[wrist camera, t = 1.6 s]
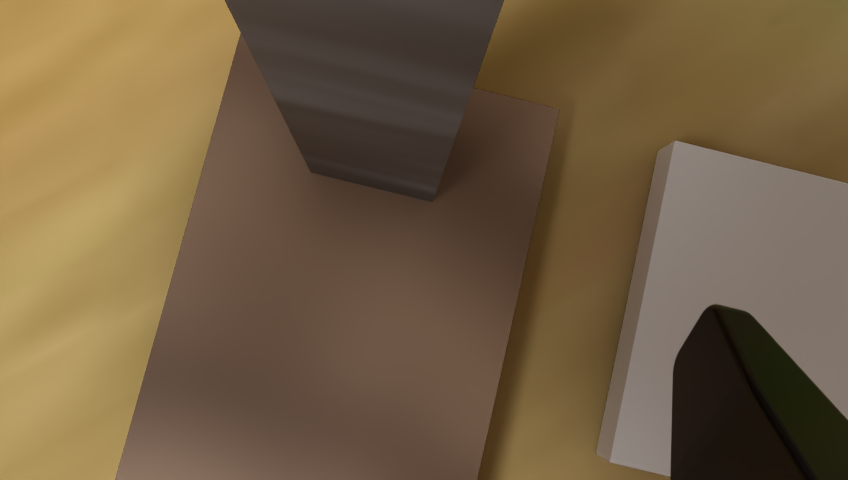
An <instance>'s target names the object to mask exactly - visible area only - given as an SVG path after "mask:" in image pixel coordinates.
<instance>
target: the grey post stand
mask: <svg viewBox="0 0 848 480" xmlns="http://www.w3.org/2000/svg"><path fill="white" fill-rule="evenodd" d="M225 2H226V4H227V6H228V8H229V10H230V12H231V14H232V16H233V18H234V20H235V22H236V24H237V26H238V28H239V30H240V32H241V34H240V37H239V41H238V45H237V48H236V52H235V55H234V59H233V62H232V66H231V69H230V73H229V77H228V80H227V84H226V87H225V91H224V94H223V98H222V101H221V105H220V109H219V112H218V116H217V119H216V123H215V126H214V130H213V133H212V137H211V141H210V144H209V148H208V151H207V155H206V158H205V162H204V165H203V169H202V172H201V176H200V180H199V183H198V187H197V190H196V194H195V197H194V201H193V204H192V208H191V212H190V215H189V219H188V222H187V226H186V229H185V233H184V236H183V240H182V244H181V247H180V251H179V254H178V258H177V261H176V265H175V268H174V272H173V276H172V279H171V283H170V286H169V290H168V293H167V297H166V300H165V304H164V307H163V311H162V315H161V318H160V322H159V325H158V329H157V332H156V336H155V339H154V343H153V347H152V350H151V354H150V357H149V361H148V364H147V368H146V371H145V375H144V379H143V382H142V386H141V389H140V393H139V396H138V400H137V403H136V407H135V410H134V414H133V418H132V421H131V425H130V428H129V432H128V435H127V439H126V442H125V446H124V450H123V453H122V457H121V460H120V464H119V467H118V471H117V474H116V478H115V480H477V478H478V473H479V469H480V464H481V460H482V455H483V451H484V446H485V442H486V438H487V433H488V429H489V424H490V420H491V415H492V411H493V406H494V402H495V397H496V393H497V388H498V384H499V379H500V375H501V370H502V366H503V361H504V357H505V352H506V348H507V343H508V339H509V334H510V330H511V325H512V321H513V317H514V312H515V308H516V303H517V299H518V294H519V290H520V285H521V281H522V276H523V272H524V267H525V263H526V258H527V254H528V249H529V245H530V240H531V236H532V231H533V227H534V222H535V218H536V213H537V209H538V204H539V200H540V195H541V191H542V187H543V182H544V178H545V173H546V169H547V164H548V160H549V155H550V151H551V146H552V142H553V137H554V133H555V128H556V124H557V119H558V115H559V110H560V109H557V108H553V107H549V106H545V105H541V104H537V103H533V102H529V101H525V100H521V99H517V98H513V97H509V96H505V95H500V94H496V93H492V92H488V91H484V90H480V89H476V88H473V87H474V84H475V81H476V78H477V75H478V72H479V70H480V67H481V64H482V61H483V58H484V55H485V53H486V50H487V47H488V44H489V41H490V39H491V36H492V33H493V30H494V27H495V24H496V22H497V19H498V16H499V13H500V10H501V7H502V5H503V2H504V0H225Z"/></svg>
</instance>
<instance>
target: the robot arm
mask: <svg viewBox="0 0 848 480" xmlns="http://www.w3.org/2000/svg"><path fill="white" fill-rule="evenodd" d="M670 480H848V419H847V418H846V417H845V416H844V415H843V414H842V413H841V412H840V411H839V409H838V408H837V407H836V406H835V405H834V404H833V403H832V402H831V401H830V400H829V399H828V397H827V396H826V395H825V394H824V393H823V392H822V391H821V390H820V389H819V388H818V387H817V385H816V384H815V383H814V382H813V381H812V380H811V379H810V378H809V377H808V376H807V374H806V373H805V372H804V371H803V370H802V369H801V368H800V367H799V366H798V365H797V364H796V362H795V361H794V360H793V359H792V358H791V357H790V356H789V355H788V354H787V353H786V352H785V350H784V349H783V348H782V347H781V346H780V345H779V344H778V343H777V342H776V341H775V340H774V338H773V337H772V336H771V335H770V334H769V333H768V332H767V331H766V330H765V329H764V328H763V326H762V325H761V324H760V323H759V322H758V321H757V320H756V319H755V318H754V317H753V316H752V315H751V314H750V313H748V312H746V311H744V310H740V309H736V308H732V307H728V306H723V305H719V304H713V305H710V306H708V307H707V308H706V309H705V310H704V311H703V313H702V314H701V316H700V317H699V319H698V321H697V322H696V324H695V325H694V327H693V329H692V330H691V332H690V334H689V335H688V337H687V339H686V340H685V342H684V343H683V345H682V347H681V348H680V350H679V352H678V354H677V356H676V359H675V363H674V367H673V384H672V426H671V469H670Z"/></svg>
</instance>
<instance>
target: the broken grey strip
mask: <svg viewBox="0 0 848 480" xmlns="http://www.w3.org/2000/svg"><path fill="white" fill-rule="evenodd" d="M713 304H719V305H723V306H728V307H732V308H736V309H740V310H744V311H746V312H748V313H750V314H751V315H752V316H753V317H754V318H755V319H756V320H757V321H758V322H759V323H760V324H761V325H762V326H763V328H764V329H765V330H766V331H767V332H768V333H769V334H770V335H771V336H772V337H773V338H774V340H775V341H776V342H777V343H778V344H779V345H780V346H781V347H782V348H783V349H784V350H785V352H786V353H787V354H788V355H789V356H790V357H791V358H792V359H793V360H794V361H795V362H796V364H797V365H798V366H799V367H800V368H801V369H802V370H803V371H804V372H805V373H806V374H807V376H808V377H809V378H810V379H811V380H812V381H813V382H814V383H815V384H816V385H817V387H818V388H819V389H820V390H821V391H822V392H823V393H824V394H825V395H826V396H827V397H828V399H829V400H830V401H831V402H832V403H833V404H834V405H835V406H836V407H837V408H838V409H839V411H840V412H841V413H842V414H843V415H844V416H845V417H846V418H847V419H848V183H845V182H841V181H837V180H833V179H829V178H825V177H821V176H817V175H813V174H809V173H805V172H801V171H796V170H792V169H788V168H784V167H780V166H776V165H772V164H768V163H764V162H760V161H756V160H752V159H748V158H744V157H740V156H736V155H732V154H728V153H724V152H720V151H716V150H712V149H708V148H704V147H700V146H695V145H691V144H687V143H683V142H679V141H673V142H672V143H670V144H668V145H667V146H665V147H664V148H662V149H661V150H659V151H658V153H657V158H656V162H655V167H654V172H653V177H652V182H651V187H650V192H649V197H648V202H647V206H646V211H645V216H644V221H643V226H642V231H641V236H640V241H639V245H638V250H637V255H636V260H635V265H634V270H633V275H632V280H631V285H630V289H629V294H628V299H627V304H626V309H625V314H624V319H623V324H622V328H621V333H620V338H619V343H618V348H617V353H616V358H615V363H614V368H613V372H612V377H611V382H610V387H609V392H608V397H607V402H606V407H605V411H604V416H603V421H602V426H601V431H600V436H599V441H598V446H597V450H596V454H597V455H598V456H600V457H602V458H603V459H605V460H607V461H608V462H610V463H615V464H619V465H623V466H627V467H631V468H636V469H640V470H644V471H648V472H652V473H656V474H661V475H665V476H669V477H670V469H671V426H672V384H673V367H674V363H675V359H676V356H677V354H678V352H679V350H680V348H681V347H682V345H683V343H684V342H685V340H686V339H687V337H688V335H689V334H690V332H691V330H692V329H693V327H694V325H695V324H696V322H697V321H698V319H699V317H700V316H701V314H702V313H703V311H704V310H705V309H706V308H707V307H708V306H710V305H713Z"/></svg>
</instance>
